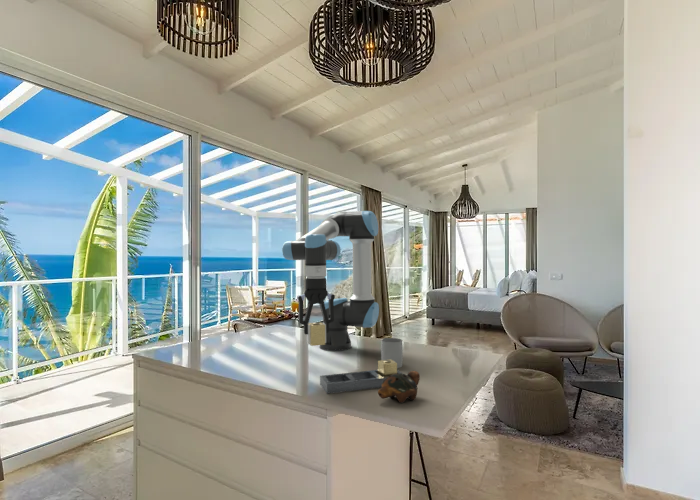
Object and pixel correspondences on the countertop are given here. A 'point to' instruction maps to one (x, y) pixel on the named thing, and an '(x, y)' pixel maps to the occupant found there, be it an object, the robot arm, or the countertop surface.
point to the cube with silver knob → (317, 334)
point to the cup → (392, 350)
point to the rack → (352, 381)
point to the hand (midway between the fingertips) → (316, 342)
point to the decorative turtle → (400, 386)
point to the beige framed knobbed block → (387, 368)
